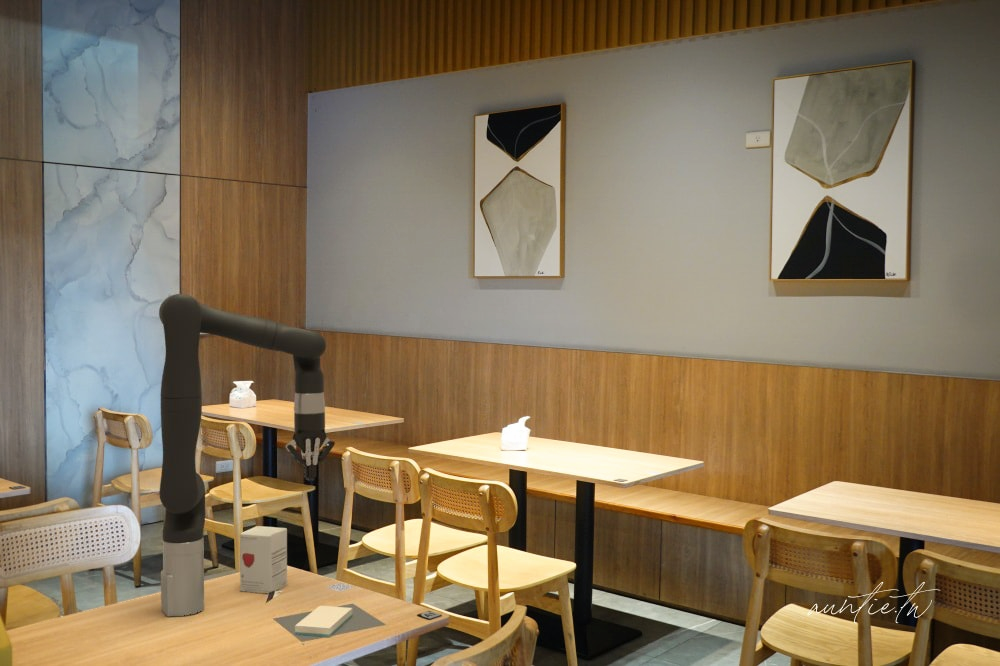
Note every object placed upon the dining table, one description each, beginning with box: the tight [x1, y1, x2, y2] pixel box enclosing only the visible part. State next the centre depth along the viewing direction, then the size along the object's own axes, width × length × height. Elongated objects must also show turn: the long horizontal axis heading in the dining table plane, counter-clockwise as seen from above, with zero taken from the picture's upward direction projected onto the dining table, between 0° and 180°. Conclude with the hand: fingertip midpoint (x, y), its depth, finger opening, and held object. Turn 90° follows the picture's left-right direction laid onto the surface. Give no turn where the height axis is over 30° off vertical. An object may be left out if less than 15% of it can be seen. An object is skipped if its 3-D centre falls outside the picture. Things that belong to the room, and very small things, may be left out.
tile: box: [295, 605, 352, 638], centre depth 217 cm, size 2×8×14 cm
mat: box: [272, 603, 387, 643], centre depth 220 cm, size 20×18×1 cm
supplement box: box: [239, 525, 288, 595], centre depth 247 cm, size 9×9×15 cm
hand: (310, 479), depth 241 cm, fingers closed
